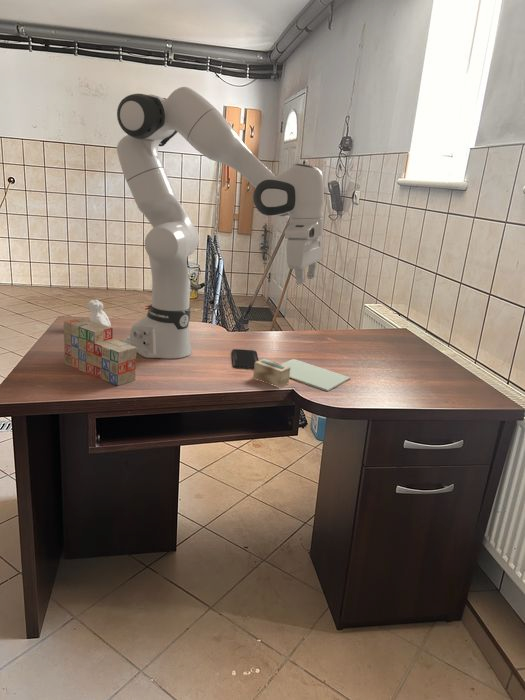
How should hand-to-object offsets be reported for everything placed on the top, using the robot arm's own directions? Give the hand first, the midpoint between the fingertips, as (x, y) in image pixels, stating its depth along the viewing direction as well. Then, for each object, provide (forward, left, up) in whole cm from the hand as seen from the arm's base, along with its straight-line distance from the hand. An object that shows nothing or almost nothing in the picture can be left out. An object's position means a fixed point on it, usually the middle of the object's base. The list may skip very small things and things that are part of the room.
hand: (305, 281), depth 140 cm
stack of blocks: (-37, -39, -29) cm, 61 cm away
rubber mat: (+2, +5, -28) cm, 29 cm away
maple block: (-3, -8, -28) cm, 29 cm away
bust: (-67, -16, -28) cm, 74 cm away
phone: (-18, 0, -29) cm, 34 cm away
